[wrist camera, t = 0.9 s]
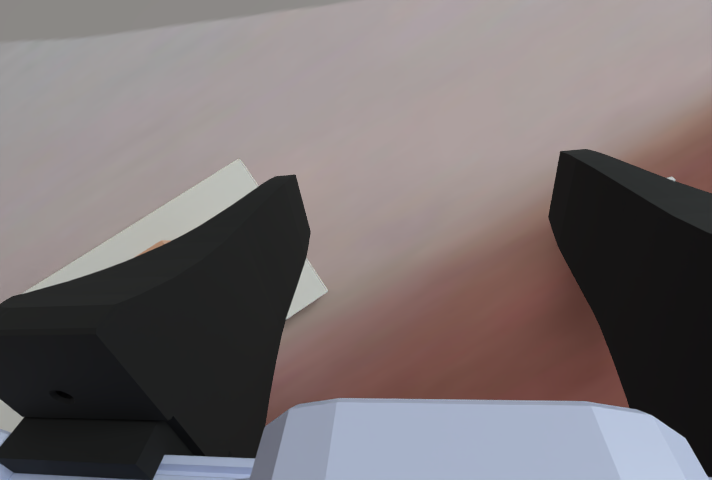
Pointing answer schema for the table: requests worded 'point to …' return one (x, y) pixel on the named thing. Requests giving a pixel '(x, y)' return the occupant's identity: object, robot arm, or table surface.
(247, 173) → the fader board
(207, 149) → the table surface
